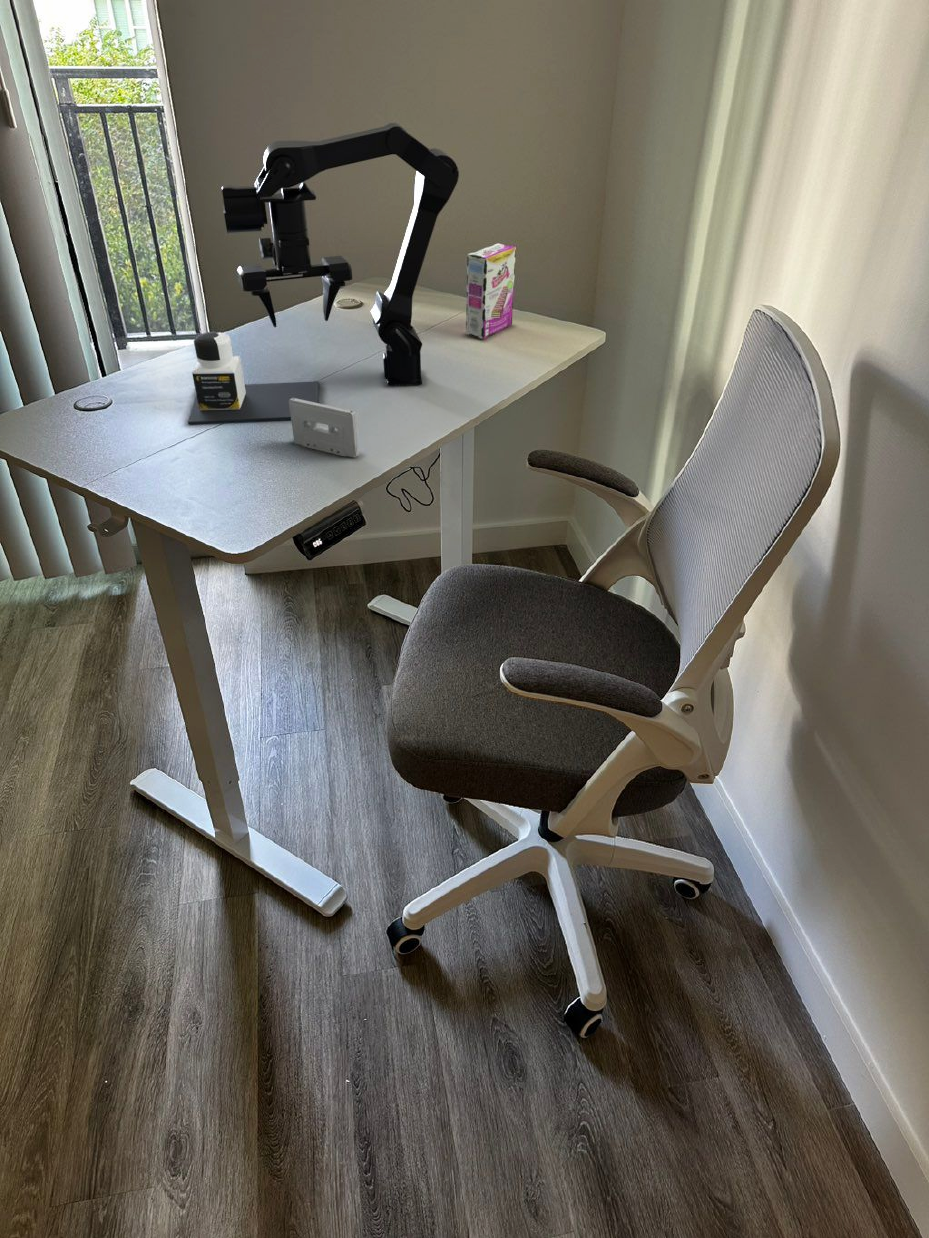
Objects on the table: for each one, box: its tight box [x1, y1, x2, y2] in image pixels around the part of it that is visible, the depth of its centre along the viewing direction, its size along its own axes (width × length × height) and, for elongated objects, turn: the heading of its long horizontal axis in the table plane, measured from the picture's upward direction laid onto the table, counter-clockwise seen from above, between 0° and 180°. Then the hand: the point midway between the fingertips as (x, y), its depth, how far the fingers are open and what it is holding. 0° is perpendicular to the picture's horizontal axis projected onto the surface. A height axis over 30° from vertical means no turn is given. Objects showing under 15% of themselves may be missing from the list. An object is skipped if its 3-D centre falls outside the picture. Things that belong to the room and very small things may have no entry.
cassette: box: [289, 398, 359, 459], centre depth 137 cm, size 12×2×8 cm, turn 64°
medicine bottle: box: [191, 331, 246, 410], centre depth 149 cm, size 7×7×12 cm
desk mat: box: [187, 380, 320, 426], centre depth 153 cm, size 22×15×1 cm
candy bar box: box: [465, 243, 517, 340], centre depth 178 cm, size 11×5×16 cm, turn 144°
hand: (300, 323), depth 151 cm, fingers open, 9 cm apart
